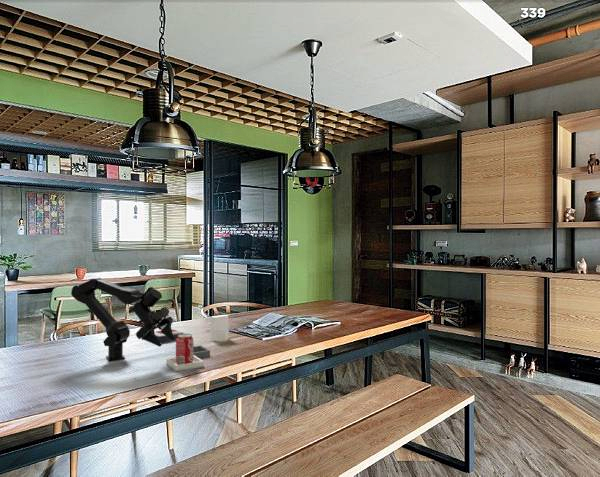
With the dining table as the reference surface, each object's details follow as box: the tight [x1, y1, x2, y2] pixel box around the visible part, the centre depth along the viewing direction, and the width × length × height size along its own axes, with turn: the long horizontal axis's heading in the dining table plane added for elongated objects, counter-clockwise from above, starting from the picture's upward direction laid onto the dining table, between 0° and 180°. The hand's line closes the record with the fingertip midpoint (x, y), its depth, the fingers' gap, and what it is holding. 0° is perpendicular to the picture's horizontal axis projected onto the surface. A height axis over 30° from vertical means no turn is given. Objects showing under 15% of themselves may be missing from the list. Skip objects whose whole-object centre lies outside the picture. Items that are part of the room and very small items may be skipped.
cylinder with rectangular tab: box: [210, 314, 229, 342], centre depth 224 cm, size 9×9×12 cm
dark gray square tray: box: [193, 345, 211, 359], centre depth 195 cm, size 10×10×2 cm
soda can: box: [175, 333, 194, 365], centre depth 180 cm, size 7×7×12 cm
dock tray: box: [165, 355, 205, 372], centre depth 180 cm, size 12×12×2 cm
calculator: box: [154, 328, 185, 344], centre depth 223 cm, size 11×4×15 cm
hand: (167, 342), depth 182 cm, fingers open, 9 cm apart
